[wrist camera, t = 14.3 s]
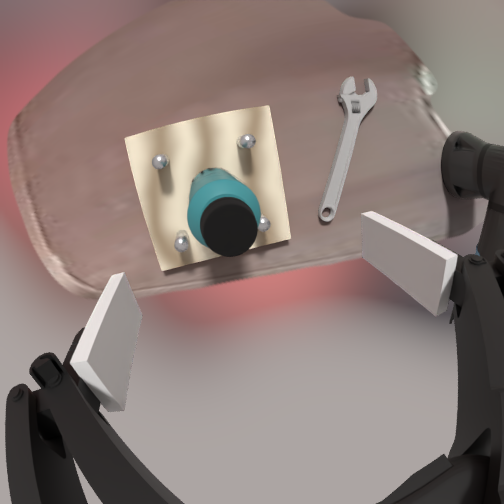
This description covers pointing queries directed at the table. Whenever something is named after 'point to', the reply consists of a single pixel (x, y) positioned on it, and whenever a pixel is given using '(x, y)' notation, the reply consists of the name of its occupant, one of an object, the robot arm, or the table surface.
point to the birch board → (199, 159)
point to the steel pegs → (182, 235)
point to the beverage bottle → (223, 212)
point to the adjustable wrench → (346, 140)
